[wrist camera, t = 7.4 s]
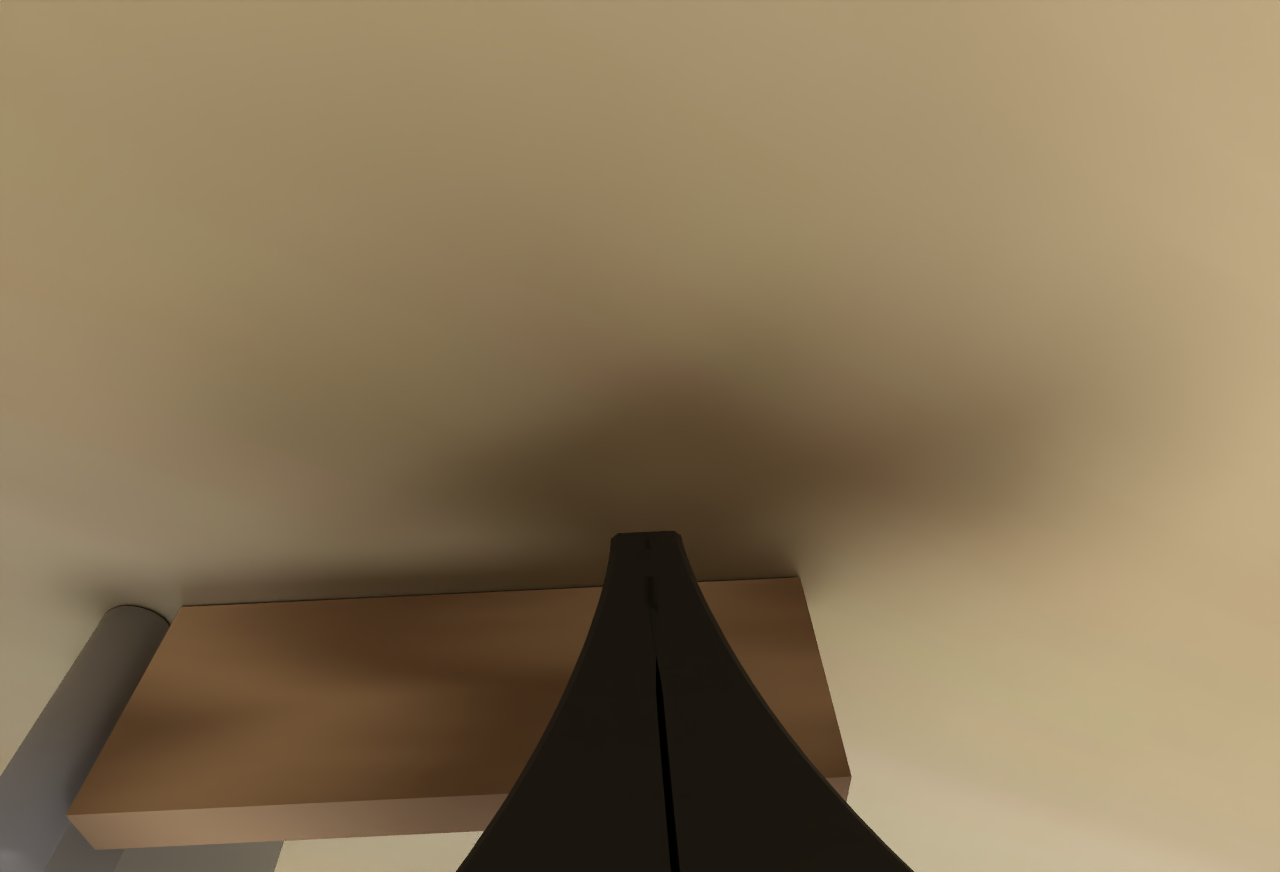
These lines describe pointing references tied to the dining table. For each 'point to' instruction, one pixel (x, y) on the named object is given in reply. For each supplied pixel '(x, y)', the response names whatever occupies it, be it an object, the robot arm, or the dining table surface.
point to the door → (389, 712)
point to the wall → (65, 753)
